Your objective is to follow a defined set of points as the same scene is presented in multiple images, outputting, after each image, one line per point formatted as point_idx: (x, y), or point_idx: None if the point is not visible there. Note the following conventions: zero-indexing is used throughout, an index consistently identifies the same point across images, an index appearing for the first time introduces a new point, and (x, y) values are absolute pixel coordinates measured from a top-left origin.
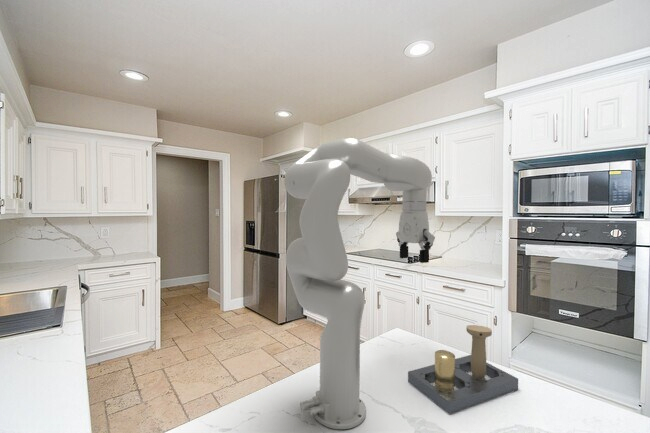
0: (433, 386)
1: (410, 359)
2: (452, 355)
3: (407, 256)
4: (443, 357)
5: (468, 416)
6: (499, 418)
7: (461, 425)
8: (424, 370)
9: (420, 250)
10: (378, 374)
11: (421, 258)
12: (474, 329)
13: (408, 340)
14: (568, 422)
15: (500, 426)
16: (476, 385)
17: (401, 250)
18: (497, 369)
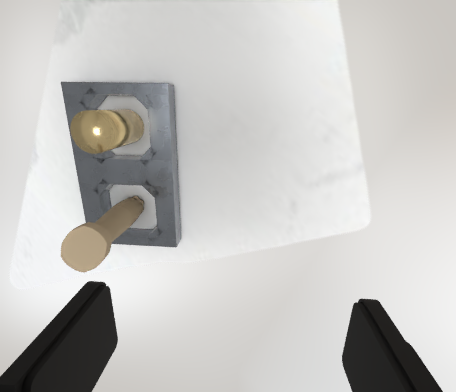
0: (107, 91)
1: (241, 151)
2: (82, 144)
3: (346, 364)
4: (78, 117)
5: (65, 108)
6: (51, 147)
7: (50, 80)
8: (159, 118)
9: (6, 377)
10: (220, 42)
11: (69, 309)
12: (81, 236)
13: (312, 209)
14: (28, 220)
15: (37, 133)
16: (90, 166)
17: (393, 370)
18: (120, 240)
